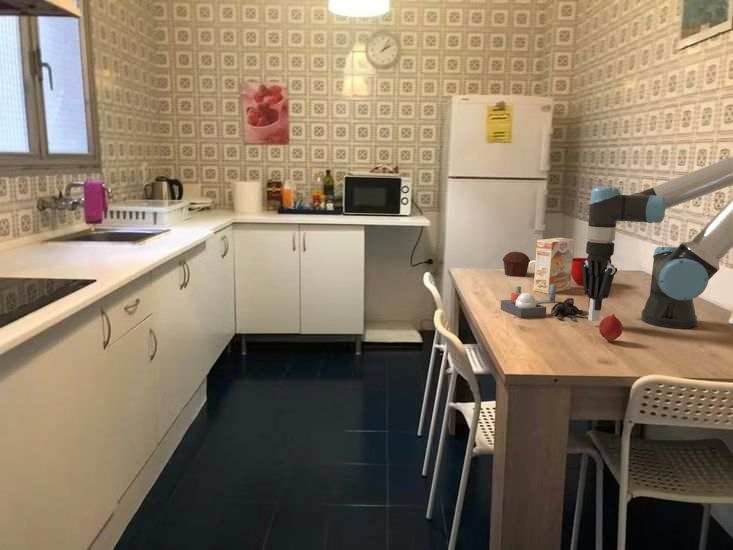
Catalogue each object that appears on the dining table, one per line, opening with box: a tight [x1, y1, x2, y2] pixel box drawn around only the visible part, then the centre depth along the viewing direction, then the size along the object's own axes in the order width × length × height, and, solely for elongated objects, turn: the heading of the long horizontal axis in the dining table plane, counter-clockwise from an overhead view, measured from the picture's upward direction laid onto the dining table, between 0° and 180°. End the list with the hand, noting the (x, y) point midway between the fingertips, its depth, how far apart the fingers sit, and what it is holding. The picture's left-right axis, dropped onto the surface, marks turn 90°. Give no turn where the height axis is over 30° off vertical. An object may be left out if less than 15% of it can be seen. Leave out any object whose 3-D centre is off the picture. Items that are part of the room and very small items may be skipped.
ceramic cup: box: [571, 257, 616, 287], centre depth 232 cm, size 13×17×10 cm
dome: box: [516, 292, 538, 308], centre depth 185 cm, size 6×6×6 cm
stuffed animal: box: [548, 297, 589, 322], centre depth 184 cm, size 12×10×12 cm
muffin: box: [502, 251, 531, 278], centre depth 253 cm, size 12×11×10 cm
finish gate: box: [514, 284, 557, 304], centre depth 201 cm, size 2×16×6 cm, turn 108°
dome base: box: [500, 292, 547, 319], centre depth 187 cm, size 12×9×5 cm
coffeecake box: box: [533, 237, 575, 295], centre depth 221 cm, size 15×7×20 cm, turn 129°
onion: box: [598, 312, 624, 343], centre depth 157 cm, size 6×6×8 cm
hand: (593, 319), depth 173 cm, fingers closed
